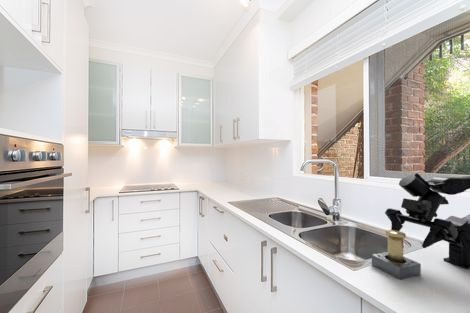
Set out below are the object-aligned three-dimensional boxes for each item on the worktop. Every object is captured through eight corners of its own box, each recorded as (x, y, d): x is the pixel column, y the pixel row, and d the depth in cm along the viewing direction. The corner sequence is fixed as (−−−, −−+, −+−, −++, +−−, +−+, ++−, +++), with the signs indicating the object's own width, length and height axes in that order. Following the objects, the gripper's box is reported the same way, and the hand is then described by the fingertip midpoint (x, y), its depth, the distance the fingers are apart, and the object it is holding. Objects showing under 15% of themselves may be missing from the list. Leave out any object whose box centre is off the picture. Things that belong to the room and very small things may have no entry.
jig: (391, 261, 74) (391, 251, 74) (420, 275, 65) (420, 263, 65) (371, 265, 71) (371, 254, 71) (399, 279, 62) (399, 267, 62)
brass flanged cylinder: (393, 264, 71) (392, 229, 71) (409, 272, 66) (409, 234, 67) (381, 267, 70) (381, 230, 70) (397, 275, 65) (397, 236, 65)
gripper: (388, 186, 81) (367, 218, 76) (452, 194, 63) (430, 236, 59) (401, 205, 83) (382, 237, 79) (467, 218, 66) (446, 260, 62)
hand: (406, 241), depth 70 cm, fingers open, 9 cm apart
